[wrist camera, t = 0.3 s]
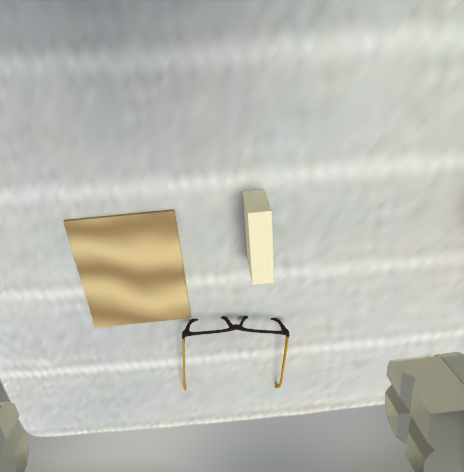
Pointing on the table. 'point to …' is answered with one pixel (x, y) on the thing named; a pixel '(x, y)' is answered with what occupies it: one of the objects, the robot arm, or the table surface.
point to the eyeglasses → (236, 327)
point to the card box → (259, 236)
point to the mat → (130, 267)
